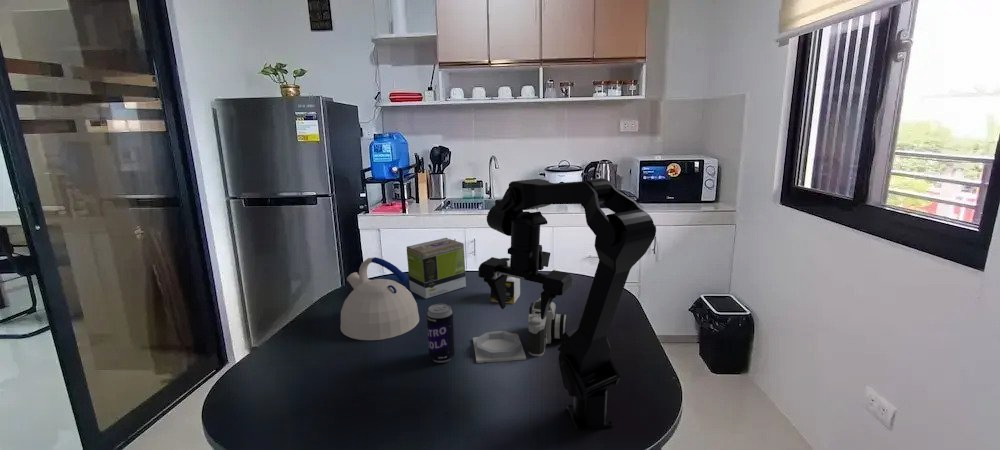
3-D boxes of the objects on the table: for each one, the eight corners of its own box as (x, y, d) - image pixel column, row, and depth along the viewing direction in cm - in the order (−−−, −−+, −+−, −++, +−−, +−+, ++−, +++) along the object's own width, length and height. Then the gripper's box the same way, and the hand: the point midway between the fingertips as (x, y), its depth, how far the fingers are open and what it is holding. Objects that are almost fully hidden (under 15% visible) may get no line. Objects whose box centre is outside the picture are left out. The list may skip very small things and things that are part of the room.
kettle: (379, 302, 135) (375, 243, 131) (435, 316, 125) (432, 253, 120) (322, 329, 118) (314, 262, 114) (381, 349, 108) (375, 276, 103)
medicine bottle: (490, 301, 134) (489, 262, 131) (497, 292, 140) (497, 255, 138) (514, 304, 132) (513, 264, 129) (520, 295, 138) (520, 257, 136)
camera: (562, 359, 102) (563, 318, 99) (524, 356, 103) (524, 315, 101) (567, 328, 117) (568, 291, 114) (533, 325, 118) (533, 289, 116)
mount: (526, 359, 102) (526, 351, 101) (476, 363, 100) (476, 355, 100) (517, 336, 112) (517, 328, 112) (472, 339, 111) (472, 332, 111)
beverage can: (426, 355, 104) (423, 305, 101) (449, 349, 107) (447, 301, 104) (433, 366, 99) (430, 315, 96) (458, 360, 102) (456, 310, 99)
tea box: (449, 279, 153) (447, 236, 149) (466, 287, 145) (465, 242, 142) (408, 290, 143) (405, 245, 140) (425, 300, 136) (422, 252, 133)
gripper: (583, 239, 94) (578, 308, 98) (503, 225, 103) (501, 290, 107) (563, 255, 85) (559, 331, 89) (477, 238, 93) (476, 308, 97)
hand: (522, 313), depth 96 cm, fingers open, 9 cm apart
